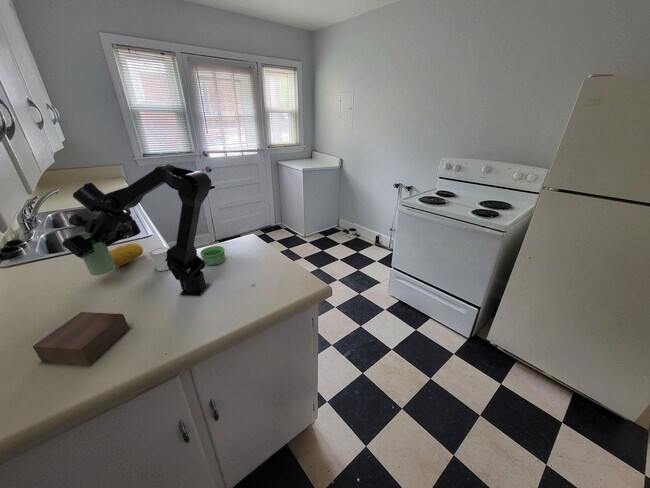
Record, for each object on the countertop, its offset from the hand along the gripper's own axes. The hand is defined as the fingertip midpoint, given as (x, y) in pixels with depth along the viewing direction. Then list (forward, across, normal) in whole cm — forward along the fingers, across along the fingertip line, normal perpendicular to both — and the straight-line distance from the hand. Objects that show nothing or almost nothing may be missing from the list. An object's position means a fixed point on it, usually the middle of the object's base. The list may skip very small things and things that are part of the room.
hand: (91, 252), depth 88 cm
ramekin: (-13, -20, +30) cm, 38 cm away
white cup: (-1, -13, +18) cm, 22 cm away
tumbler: (+4, 0, +6) cm, 7 cm away
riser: (-7, +26, +24) cm, 36 cm away
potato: (+8, -14, +3) cm, 17 cm away
